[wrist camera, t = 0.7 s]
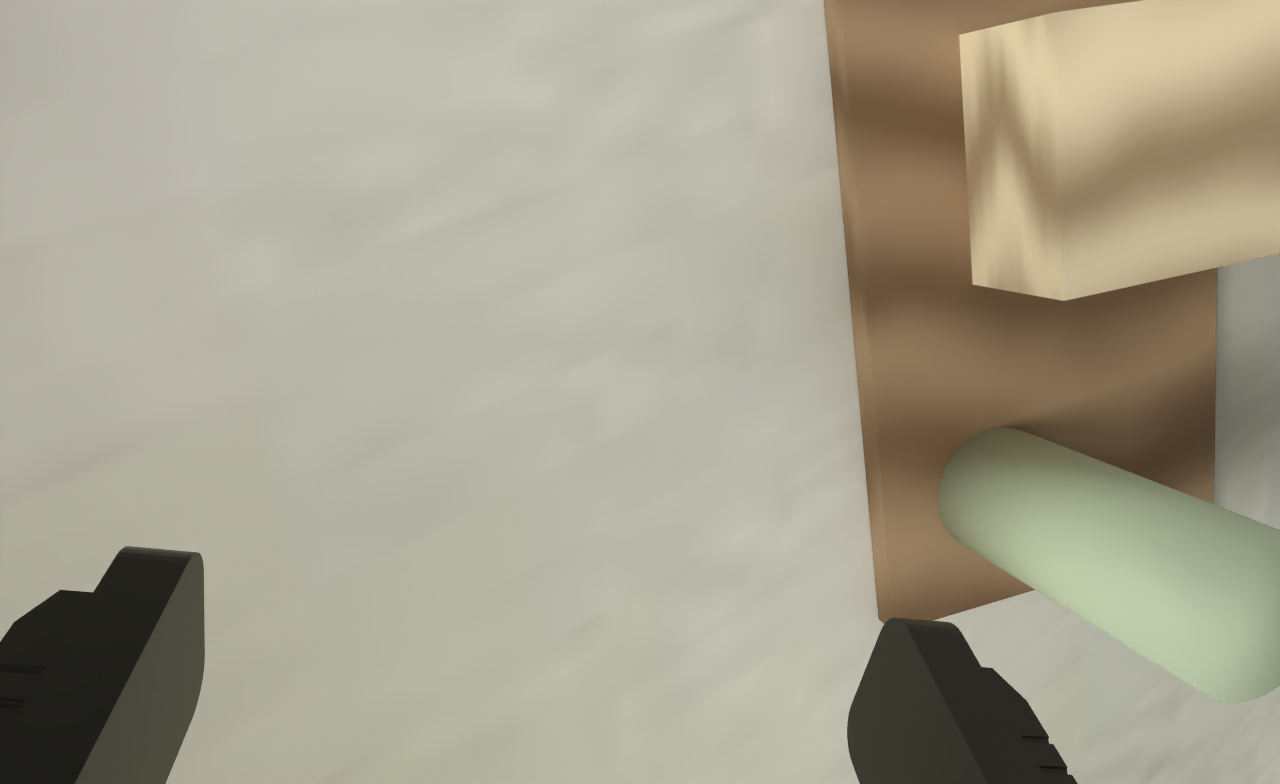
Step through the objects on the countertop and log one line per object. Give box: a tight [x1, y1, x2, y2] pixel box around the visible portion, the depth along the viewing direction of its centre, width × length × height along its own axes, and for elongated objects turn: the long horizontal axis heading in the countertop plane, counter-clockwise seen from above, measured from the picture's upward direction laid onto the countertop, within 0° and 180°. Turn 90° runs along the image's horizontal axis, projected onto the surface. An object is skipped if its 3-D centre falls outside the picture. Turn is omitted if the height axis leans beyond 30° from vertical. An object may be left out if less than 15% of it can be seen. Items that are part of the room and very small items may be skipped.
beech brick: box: [959, 0, 1280, 301], centre depth 33 cm, size 9×9×5 cm
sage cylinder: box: [938, 427, 1280, 703], centre depth 33 cm, size 5×5×12 cm
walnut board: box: [824, 0, 1217, 624], centre depth 37 cm, size 26×16×1 cm, turn 9°
